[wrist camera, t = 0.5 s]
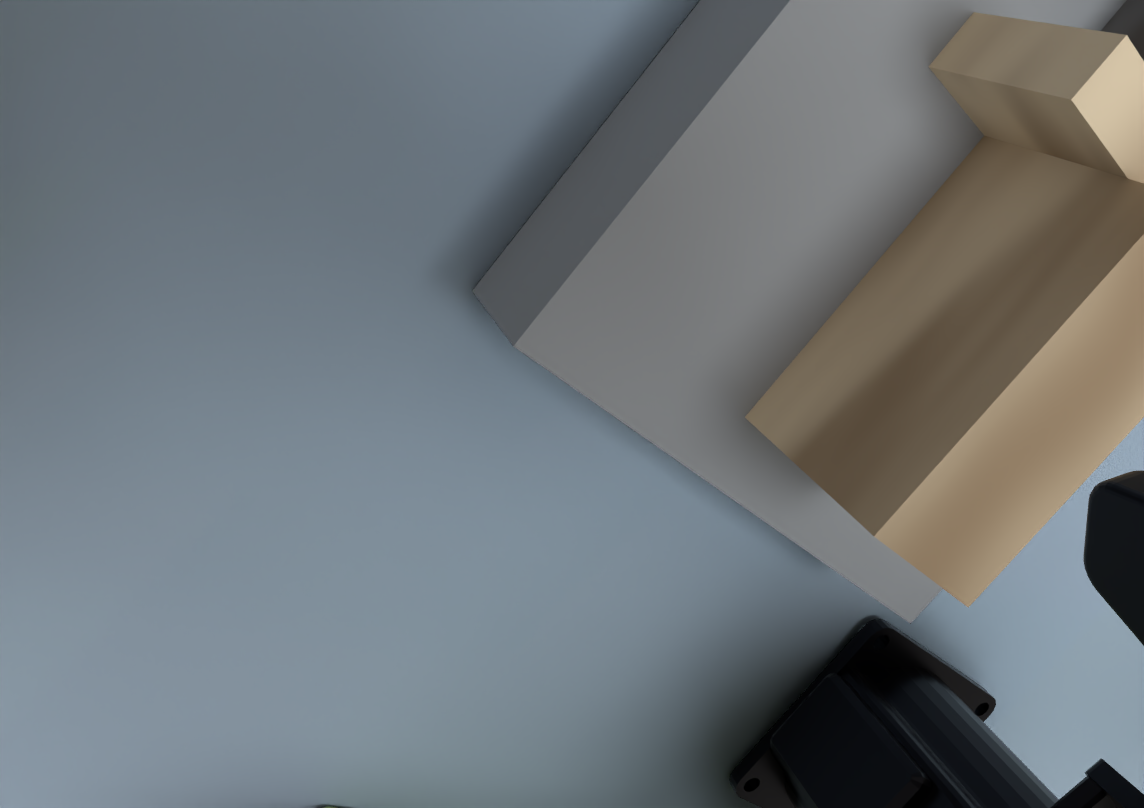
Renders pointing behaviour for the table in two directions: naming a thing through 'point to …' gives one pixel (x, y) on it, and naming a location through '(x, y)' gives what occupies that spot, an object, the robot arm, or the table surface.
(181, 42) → the table surface
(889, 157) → the board
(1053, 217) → the tan stepped block
